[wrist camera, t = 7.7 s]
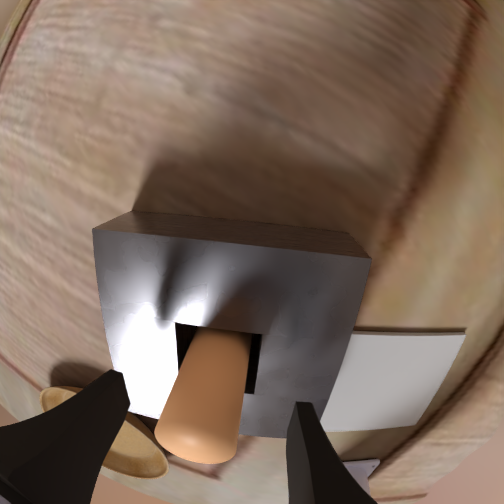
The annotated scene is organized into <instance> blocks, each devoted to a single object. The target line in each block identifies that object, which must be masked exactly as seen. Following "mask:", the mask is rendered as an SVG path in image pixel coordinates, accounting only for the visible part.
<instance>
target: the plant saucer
mask: <svg viewBox="0 0 504 504" xmlns="http://www.w3.org/2000/svg"><path fill="white" fill-rule="evenodd" d="M82 389H83V388H77V387H70V386H54V387H48V388H45V389H43V390H42V391H41V393H40V398H39V399H40V404H41V408H42V410H43V412H46V411H48V410H50V409H52V408H54V407H56V406H58V405H59V404H61V403H63V402H64V401H66V400H67V399H69V398H71V397H72V396H74V395H75V394H77V393H78V392H80V391H81V390H82ZM102 466H103V467H106V468H108V469H110V470H113V471H115V472H117V473H120V474H123V475H126V476H130V477H134V478H140V479H157V478H161V477H163V476H165V475H166V474H167V473H168V471H169V463H168V460H167V458H166V455H165V453H164V451H163V449H162V447H161V446H160V444H159V442H158V441H157V439H156V438H155V437H154V435H153V434H152V432H151V431H150V430H149V429H148V427H147V426H146V425H145V424H144V423H143V422H142V421H141V420H140V419H138V418H137V417H136V416H135V415H134V414H132V413H131V412H130V411H128V413H127V415H126V418H125V421H124V423H123V425H122V427H121V429H120V431H119V433H118V434H117V436H116V438H115V440H114V442H113V444H112V446H111V448H110V450H109V451H108V453H107V455H106V457H105V459H104V461H103V464H102Z"/></svg>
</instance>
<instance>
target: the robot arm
mask: <svg viewBox="0 0 504 504" xmlns="http://www.w3.org/2000/svg"><path fill="white" fill-rule="evenodd" d="M130 404H131V403H130V399H129V396H128V392H127V388H126V384H125V380H124V376H123V373H122V372H118V371H115V370H112V369H110V370H109V371H107V372H106V373H105V374H103V375H102V376H100V377H99V378H98V379H96V380H95V381H94V382H92V383H91V384H90V385H88V386H87V387H85V388H84V389H82V390H81V391H80V392H78V393H77V394H75V395H74V396H72V397H71V398H69V399H67V400H66V401H64V402H63V403H61V404H59V405H58V406H56V407H54V408H52V409H50V410H48V411H46V412H44V413H42V414H40V415H38V416H35V417H32V418H30V419H27V420H24V421H21V422H18V423H15V424H11V425H7V426H2V427H0V504H90V502H91V498H92V494H93V490H94V487H95V484H96V480H97V477H98V474H99V472H100V469H101V466H102V464H103V461H104V459H105V457H106V455H107V453H108V451H109V450H110V448H111V446H112V444H113V442H114V440H115V438H116V436H117V434H118V433H119V431H120V429H121V427H122V425H123V423H124V421H125V418H126V415H127V413H128V410H129V407H130ZM286 459H287V474H288V489H289V504H378V503H377V502H376V501H375V500H374V499H373V498H372V497H371V495H370V489H369V484H368V478H367V477H368V476H369V475H370V474H371V473H372V472H373V471H374V469H375V468H376V467H377V466H378V465H379V463H380V460H379V459H373V460H364V461H352V462H342V461H341V459H340V458H339V456H338V455H337V453H336V451H335V450H334V448H333V446H332V444H331V443H330V441H329V439H328V437H327V435H326V433H325V431H324V429H323V427H322V425H321V423H320V421H319V418H318V416H317V414H316V411H315V408H314V406H313V404H312V403H311V402H297V401H296V403H295V406H294V409H293V413H292V416H291V419H290V422H289V426H288V429H287V441H286Z"/></svg>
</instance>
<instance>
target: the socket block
mask: <svg viewBox="0 0 504 504" xmlns="http://www.w3.org/2000/svg"><path fill="white" fill-rule="evenodd" d="M92 233H93V246H94V257H95V267H96V276H97V283H98V291H99V298H100V304H101V310H102V316H103V321H104V327H105V332H106V337H107V341H108V346H109V351H110V355H111V359H112V363H113V367H114V370H115V371H118V372H122V373H123V376H124V380H125V384H126V388H127V392H128V396H129V399H130V403H131V404H130V407H129V410H128V411H130V412H133V413H137V414H140V415H144V416H147V417H151V418H155V419H159V418H160V415H161V413H162V411H163V408H164V406H165V403H166V401H167V398H168V396H169V394H170V391H171V389H172V386H173V384H174V382H175V379H176V377H177V374H178V372H179V370H180V367H181V365H182V363H183V360H184V358H185V356H186V353H187V351H188V349H189V346H190V344H191V341H192V339H193V337H194V334H195V332H196V325H197V326H203V327H210V328H217V329H224V330H232V331H240V332H248V333H257V334H261V335H260V343H259V350H258V349H250V354H249V362H248V369H247V377H246V384H245V391H244V398H243V406H242V413H241V420H240V427H239V434H241V435H250V436H260V437H272V438H287V429H288V426H289V422H290V419H291V416H292V413H293V409H294V406H295V403H296V401H297V402H311V403H312V404H313V406H314V408H315V411H316V414H317V416H318V418H319V421H320V420H321V418H322V415H323V413H324V410H325V408H326V406H327V403H328V400H329V398H330V395H331V393H332V390H333V387H334V385H335V382H336V379H337V377H338V374H339V371H340V368H341V365H342V362H343V359H344V357H345V354H346V350H347V347H348V344H349V341H350V338H351V335H352V332H353V328H354V325H355V322H356V318H357V315H358V311H359V308H360V304H361V300H362V297H363V293H364V289H365V285H366V281H367V277H368V273H369V269H370V264H371V260H372V259H371V257H370V256H369V255H368V254H367V253H366V252H365V251H364V249H363V248H362V247H361V246H360V245H359V244H358V243H357V242H356V241H355V239H354V238H353V237H352V236H351V235H350V234H349V233H344V232H336V231H328V230H320V229H312V228H304V227H295V226H287V225H278V224H269V223H260V222H250V221H240V220H230V219H220V218H210V217H199V216H187V215H176V214H164V213H151V212H138V211H130V212H128V213H125V214H123V215H121V216H119V217H116V218H114V219H112V220H110V221H108V222H106V223H103V224H101V225H99V226H97V227H95V228H93V229H92Z"/></svg>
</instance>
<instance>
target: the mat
mask: <svg viewBox="0 0 504 504" xmlns="http://www.w3.org/2000/svg"><path fill="white" fill-rule="evenodd" d="M465 337H466V334H465V333H464V332H447V333H404V332H369V331H353V332H352V335H351V338H350V341H349V344H348V347H347V350H346V354H345V357H344V359H343V362H342V365H341V368H340V371H339V374H338V377H337V379H336V382H335V385H334V387H333V390H332V393H331V395H330V398H329V400H328V403H327V406H326V408H325V410H324V413H323V415H322V418H321V420H320V423H321V425H322V427H323V429H324V431H359V430H374V429H385V428H395V427H403V426H410V425H416V423H417V422H418V420H419V419H420V417H421V416H422V414H423V413H424V411H425V410H426V408H427V407H428V405H429V404H430V402H431V400H432V399H433V397H434V395H435V394H436V392H437V390H438V389H439V387H440V385H441V384H442V382H443V380H444V378H445V377H446V375H447V373H448V371H449V369H450V367H451V365H452V363H453V362H454V360H455V358H456V356H457V354H458V352H459V350H460V347H461V345H462V343H463V341H464V339H465Z"/></svg>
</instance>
